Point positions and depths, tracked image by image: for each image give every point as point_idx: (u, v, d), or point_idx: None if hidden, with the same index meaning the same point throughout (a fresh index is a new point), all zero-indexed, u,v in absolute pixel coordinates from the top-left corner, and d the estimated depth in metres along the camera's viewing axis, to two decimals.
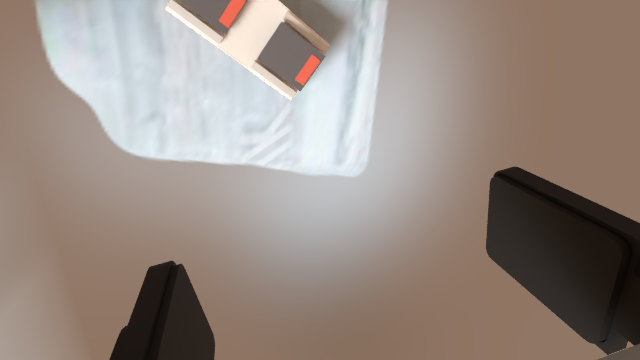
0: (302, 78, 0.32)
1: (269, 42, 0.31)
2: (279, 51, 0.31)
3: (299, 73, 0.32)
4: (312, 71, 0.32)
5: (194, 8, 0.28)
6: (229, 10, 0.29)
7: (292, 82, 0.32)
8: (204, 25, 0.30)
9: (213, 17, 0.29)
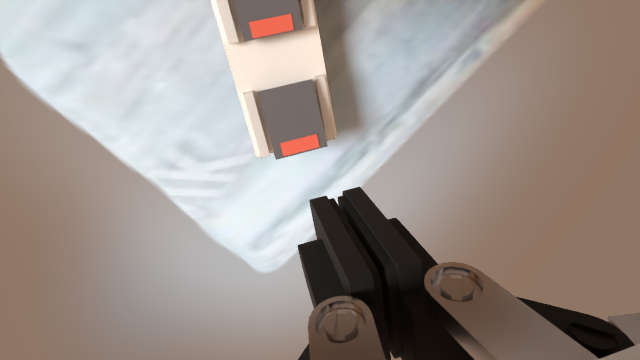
0: (288, 149, 0.25)
1: (283, 87, 0.24)
2: (286, 104, 0.24)
3: (289, 142, 0.25)
4: (303, 150, 0.25)
5: None
6: (268, 23, 0.22)
7: (274, 144, 0.24)
8: (228, 12, 0.22)
9: (246, 14, 0.21)
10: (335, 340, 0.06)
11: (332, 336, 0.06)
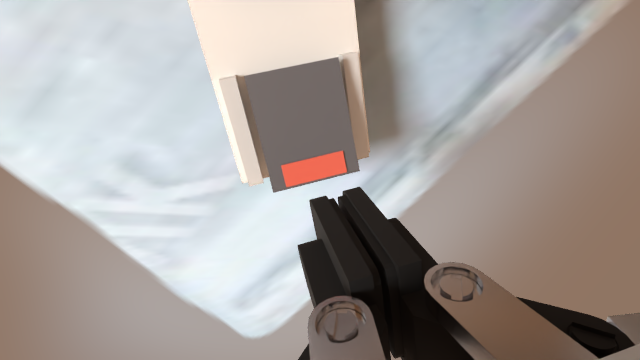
0: (295, 175, 0.15)
1: (289, 70, 0.14)
2: (293, 99, 0.14)
3: (297, 163, 0.15)
4: (320, 177, 0.15)
5: None
6: None
7: (271, 167, 0.14)
8: None
9: None
10: (335, 340, 0.06)
11: (332, 336, 0.06)
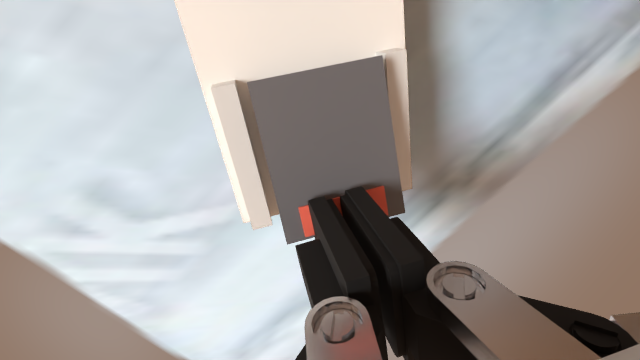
0: None
1: (312, 74, 0.10)
2: (317, 116, 0.10)
3: None
4: None
5: None
6: None
7: (285, 210, 0.10)
8: None
9: None
10: (332, 341, 0.06)
11: (329, 337, 0.06)
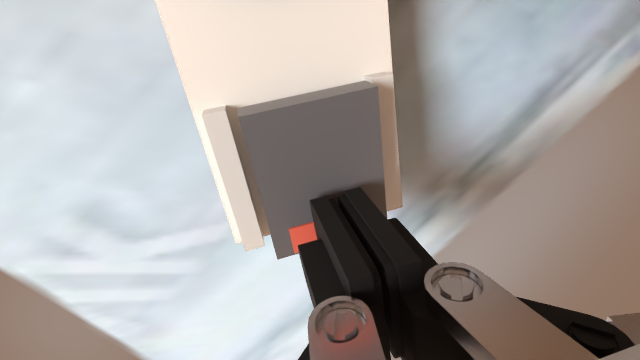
0: (306, 238, 0.11)
1: (305, 107, 0.09)
2: (309, 147, 0.10)
3: (309, 225, 0.11)
4: None
5: None
6: None
7: (275, 231, 0.11)
8: None
9: None
10: (335, 340, 0.06)
11: (332, 336, 0.06)
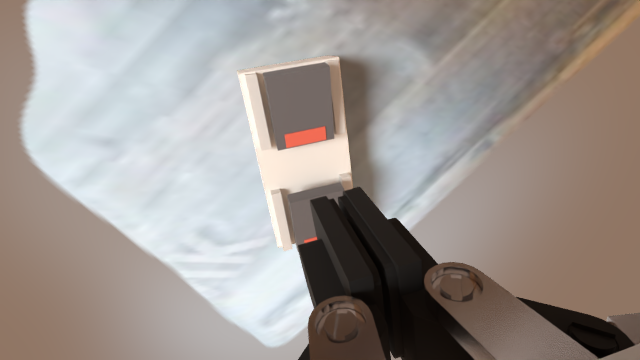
0: None
1: None
2: None
3: (313, 238, 0.26)
4: None
5: (272, 107, 0.21)
6: (302, 135, 0.22)
7: (298, 241, 0.25)
8: (264, 123, 0.22)
9: (282, 128, 0.22)
10: (335, 340, 0.06)
11: (332, 336, 0.06)
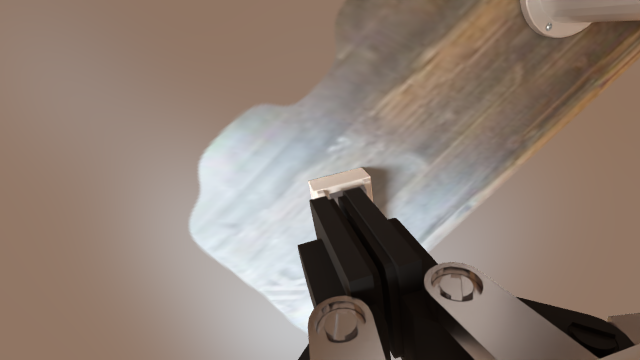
0: None
1: None
2: None
3: None
4: None
5: None
6: None
7: None
8: None
9: None
10: (335, 340, 0.06)
11: (332, 336, 0.06)
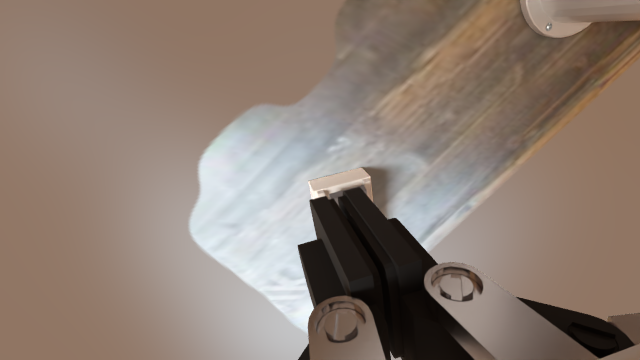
0: None
1: None
2: None
3: None
4: None
5: None
6: None
7: None
8: None
9: None
10: (335, 340, 0.06)
11: (332, 336, 0.06)
